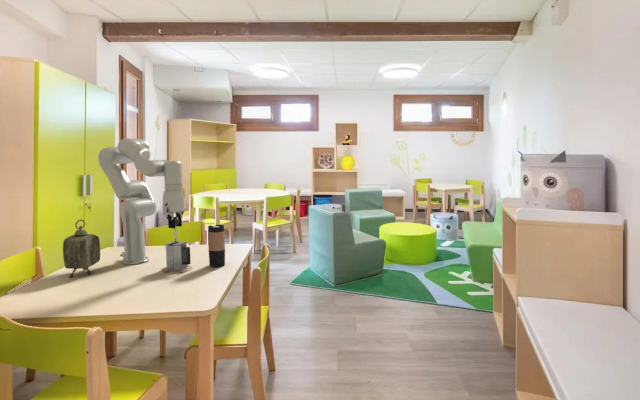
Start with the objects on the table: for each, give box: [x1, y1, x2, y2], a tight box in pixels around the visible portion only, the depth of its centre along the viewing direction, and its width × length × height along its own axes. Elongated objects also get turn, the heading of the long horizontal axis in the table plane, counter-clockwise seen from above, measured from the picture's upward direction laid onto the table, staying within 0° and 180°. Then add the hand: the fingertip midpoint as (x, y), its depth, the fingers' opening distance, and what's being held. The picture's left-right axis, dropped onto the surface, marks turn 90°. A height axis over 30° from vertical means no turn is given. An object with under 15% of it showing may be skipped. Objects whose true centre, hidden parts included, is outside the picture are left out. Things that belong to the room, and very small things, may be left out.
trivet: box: [160, 265, 193, 275], centre depth 193 cm, size 14×14×1 cm
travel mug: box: [207, 224, 226, 268], centre depth 198 cm, size 8×8×20 cm
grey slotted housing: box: [164, 240, 192, 272], centre depth 192 cm, size 12×9×13 cm
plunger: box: [173, 216, 180, 244], centre depth 191 cm, size 6×6×15 cm
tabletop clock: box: [62, 219, 101, 278], centre depth 186 cm, size 14×9×25 cm, turn 1°
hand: (175, 226), depth 191 cm, fingers closed on plunger, 4 cm apart
